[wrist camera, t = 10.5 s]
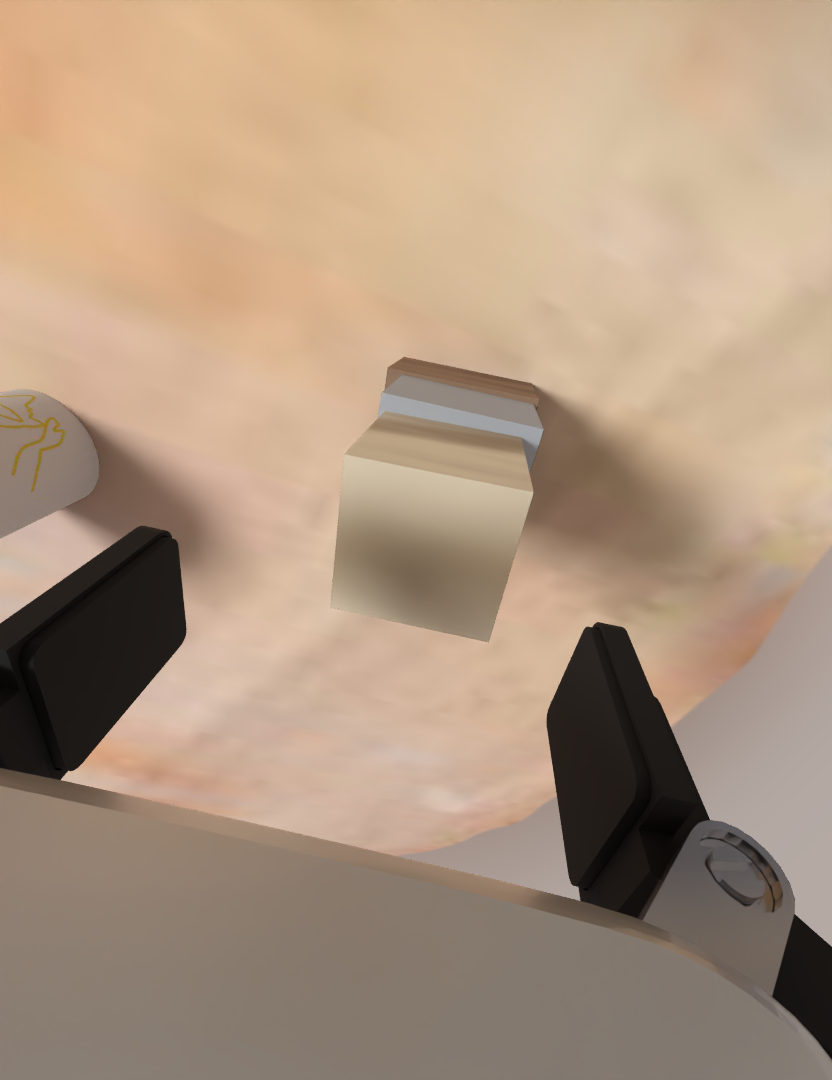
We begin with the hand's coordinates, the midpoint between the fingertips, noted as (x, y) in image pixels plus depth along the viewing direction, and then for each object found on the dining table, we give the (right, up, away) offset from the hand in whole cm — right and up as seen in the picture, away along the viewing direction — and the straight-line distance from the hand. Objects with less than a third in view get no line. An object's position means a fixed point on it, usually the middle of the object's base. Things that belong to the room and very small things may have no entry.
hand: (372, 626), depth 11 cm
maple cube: (+2, +4, +9) cm, 10 cm away
